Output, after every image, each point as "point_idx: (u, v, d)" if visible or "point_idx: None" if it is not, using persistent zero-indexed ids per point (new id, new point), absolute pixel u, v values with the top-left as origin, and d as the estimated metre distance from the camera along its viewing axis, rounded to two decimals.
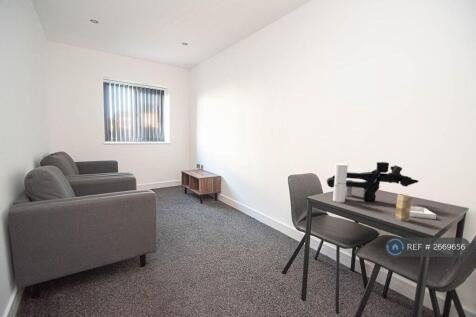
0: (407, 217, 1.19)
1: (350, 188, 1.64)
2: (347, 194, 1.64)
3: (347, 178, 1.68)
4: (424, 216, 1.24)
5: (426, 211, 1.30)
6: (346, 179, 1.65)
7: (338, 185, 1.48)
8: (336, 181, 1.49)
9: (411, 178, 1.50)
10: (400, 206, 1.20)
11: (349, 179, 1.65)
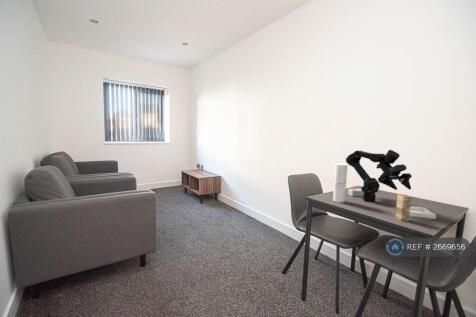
0: (407, 217, 1.19)
1: (359, 194, 1.65)
2: (354, 191, 1.64)
3: None
4: (424, 216, 1.24)
5: (426, 211, 1.30)
6: None
7: (338, 185, 1.48)
8: (336, 181, 1.49)
9: None
10: (400, 206, 1.20)
11: None
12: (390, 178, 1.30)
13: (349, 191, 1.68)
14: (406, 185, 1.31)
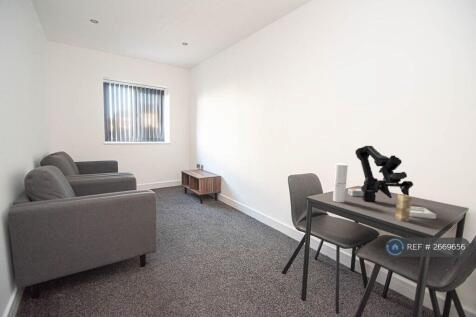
0: (407, 217, 1.19)
1: (359, 194, 1.65)
2: (354, 191, 1.64)
3: None
4: (424, 216, 1.24)
5: (426, 211, 1.30)
6: None
7: (338, 185, 1.48)
8: (336, 181, 1.49)
9: None
10: (400, 206, 1.20)
11: None
12: (386, 186, 1.26)
13: (349, 191, 1.68)
14: (405, 194, 1.26)
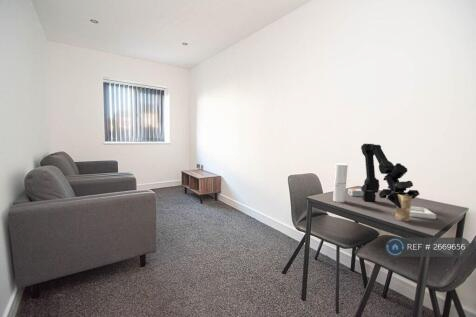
0: (407, 217, 1.19)
1: (359, 194, 1.65)
2: (354, 191, 1.64)
3: None
4: (424, 216, 1.24)
5: (426, 211, 1.30)
6: None
7: (338, 185, 1.48)
8: (336, 181, 1.49)
9: None
10: None
11: None
12: (395, 195, 1.22)
13: (349, 191, 1.68)
14: None
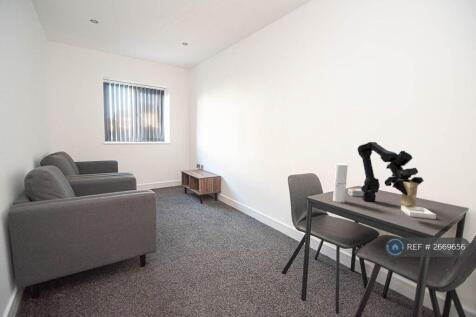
0: (413, 204, 1.19)
1: (359, 194, 1.65)
2: (354, 191, 1.64)
3: None
4: (424, 216, 1.24)
5: (426, 211, 1.30)
6: None
7: (338, 185, 1.48)
8: (336, 181, 1.49)
9: None
10: None
11: None
12: (401, 182, 1.21)
13: (349, 191, 1.68)
14: None
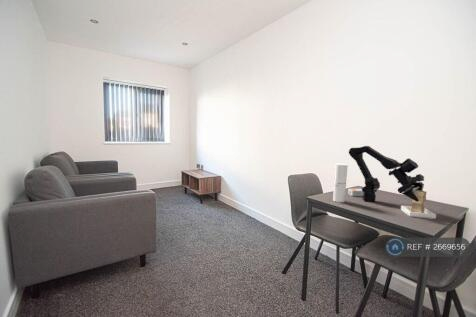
0: (423, 210, 1.28)
1: (359, 194, 1.65)
2: (354, 191, 1.64)
3: None
4: (424, 216, 1.24)
5: (426, 211, 1.30)
6: None
7: (338, 185, 1.48)
8: (336, 181, 1.49)
9: None
10: (419, 201, 1.27)
11: None
12: (412, 189, 1.26)
13: (349, 191, 1.68)
14: None
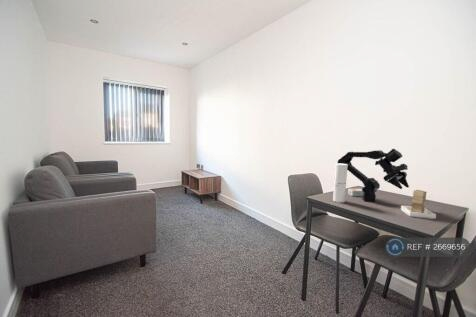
0: (423, 210, 1.28)
1: (359, 194, 1.65)
2: (354, 191, 1.64)
3: None
4: (424, 216, 1.24)
5: (426, 211, 1.30)
6: None
7: (338, 185, 1.48)
8: (336, 181, 1.49)
9: None
10: (419, 201, 1.27)
11: None
12: (396, 177, 1.34)
13: (349, 191, 1.68)
14: (404, 183, 1.40)
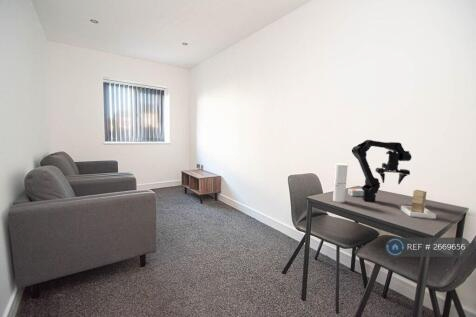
0: (423, 210, 1.28)
1: (359, 194, 1.65)
2: (354, 191, 1.64)
3: None
4: (424, 216, 1.24)
5: (426, 211, 1.30)
6: None
7: (338, 185, 1.48)
8: (336, 181, 1.49)
9: None
10: (419, 201, 1.27)
11: None
12: None
13: (349, 191, 1.68)
14: None
